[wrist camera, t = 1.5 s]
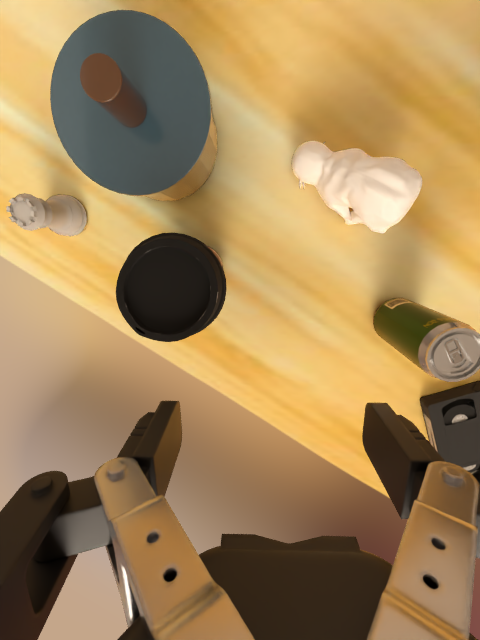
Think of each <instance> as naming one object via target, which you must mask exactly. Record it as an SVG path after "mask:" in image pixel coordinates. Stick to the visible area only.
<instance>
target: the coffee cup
mask: <svg viewBox="0 0 480 640" xmlns="http://www.w3.org/2000/svg"><path fill="white" fill-rule="evenodd" d="M225 296H226V278H225V274H224V271H223V264H222V261H221V259H220V257H219V255H218V254H217V253H216V252H215V251H214V250H213V249H212V248H210V247H209V246H206V245H205V244H204V243H202V242H201V241H199V240H197V239H196V238H193V237H191V236H188V235H185V234H180V233H162V234H158V235H155V236H152V237H150V238H148V239H146V240H144V241H142V242H141V243H140V244H139V245H138V246H136V247H135V248H134V249H133V251H132V252H131V253H130V255H129V256H128V258H127V260H126V261H125V263H124V265H123V267H122V269H121V271H120V273H119V277H118V280H117V286H116V299H117V303H118V307H119V309H120V311H121V313H122V315H123V317H124V318H125V320H126V321H127V323H128V324H129V325H130V326H131V327H132V329H133V330H134V331H135V332H136V333H137V334H139V335H141V336H143V337H146V338H149V339H153V340H157V341H164V342H172V341H178V340H182V339H185V338H187V337H189V336H191V335H194V334H196V333H198V332H200V331H202V330H203V329H204V328H206V327H207V326H208V325H210V324H211V323H212V322H213V321H214V319H215V318H216V317H217V316H218V314H219V312H220V311H221V309H222V307H223V304H224V301H225Z"/></svg>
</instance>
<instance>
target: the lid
mask: <svg viewBox="0 0 480 640" xmlns="http://www.w3.org/2000/svg"><path fill="white" fill-rule="evenodd" d="M50 100H51V109H52V115H53V120H54V124H55V127H56V130H57V133H58V136H59V138H60V140H61V142H62V145H63V146H64V148H65V150H66V152H67V153H68V155H69V156H70V158H71V159H72V160H73V162H74V163H75V164H76V165H77V166H78V168H79V169H80V170H81V171H82V172H83V173H84V174H86V175H87V176H88V177H89V178H90V179H92V180H93V181H95V182H96V183H98V184H99V185H101V186H103V187H105V188H107V189H109V190H112V191H115V192H118V193H121V194H125V195H131V196H146V195H153V194H157V193H160V192H163V191H165V190H168V189H170V188H172V187H173V186H175V185H177V184H178V183H179V182H181V181H182V180H183V179H184V178H185V177H186V176H187V175H188V174H189V173H190V172H191V171H192V170H193V168H194V167H195V166H196V164H197V163H198V161H199V159H200V158H201V156H202V154H203V152H204V149H205V147H206V144H207V141H208V137H209V133H210V127H211V112H212V108H211V97H210V92H209V87H208V83H207V80H206V77H205V74H204V71H203V69H202V66H201V64H200V62H199V60H198V58H197V56H196V55H195V53H194V52H193V50H192V48H191V47H190V46H189V45H188V43H187V42H186V41H185V40H184V38H183V37H182V36H181V35H180V34H179V33H178V32H176V31H175V30H174V29H173V28H172V27H170V26H169V25H168V24H166V23H165V22H163V21H161V20H159V19H157V18H156V17H154V16H151V15H148V14H145V13H142V12H137V11H132V10H117V11H110V12H106V13H103V14H99V15H97V16H95V17H93V18H91V19H89V20H88V21H86V22H85V23H84V24H82V25H81V26H80V27H78V28H77V29H76V30H75V31H74V32H73V33H72V34H71V36H70V37H69V38H68V40H67V41H66V42H65V44H64V46H63V48H62V49H61V51H60V53H59V55H58V58H57V60H56V63H55V66H54V70H53V74H52V81H51V99H50Z"/></svg>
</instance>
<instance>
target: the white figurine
mask: <svg viewBox="0 0 480 640" xmlns="http://www.w3.org/2000/svg"><path fill="white" fill-rule="evenodd" d="M324 143H325V142H324ZM324 143H320V142H317V141H307V142H305V143H303V144H301V145H300V146H299V147H298V148H297V149H296V150H295V152H294V154H293V157H292V170H293V172H294V174H295V175H296V177H297V178H298V179H299V188H300V186H301V184H302V185H303V189H304V185H305V184H306V183H309V184H312V185H314V186H315V187H316V189H317V191H318V193H319V195H320V196H321V198H322V199H323V201H324V202H325V204H326V205H327V206H328V207H329V208H331V209H333V210H334V211H336V212H337V213H338V214H339V215H340V216H341V217H343V218H344V219H345V223H346V224H349V225H351V224H357V223H363V224H365V225H366V226H368V228H369V229H370V230H371V231H373V232H379V233H385V232H386V230H387V229H388V228H389V227H391V226H393V225H395V224H397V223H398V222H400V220H401V219H402V218H403V217H404V216H405V214H406V213H407V212H408V211H409V209H410V208H411V206H412V204H413V203H414V201H415V199H416V198H417V197H418V195H419V192H420V190H421V187H422V177H421V175H420V173H419V172H418V171H417V170H416V169H414V168H412V167H410V166H409V165H408V164H407V163H406V162H405V161H404V160H402V159H399V158H396V157H371V156H369V155H368V154H366V153H365V152H364V151H363V150H361V149H358V148H350V149H346V150H342V151H337V152H333V151H331V150H330V149H329V148H328V147H327V146H325V144H324ZM304 182H305V184H304ZM349 207H351V208H352V209H353V211H351V212H350V210H349Z"/></svg>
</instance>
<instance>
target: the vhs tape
mask: <svg viewBox="0 0 480 640" xmlns="http://www.w3.org/2000/svg"><path fill="white" fill-rule="evenodd" d="M420 403H421V407H422V412H423V416H424V420H425V424H426V429H427V433H428V437H429V441H430V444H431V445H432V446H433V447H434V449H435V450H436V451H437V452H438V453H439V454H440V456H441V457H442V458H443V459H444V460H445V462H449V463H452V464H455V465H458V466H460V467H462V468H464V469H465V470H467V471H468V472H470V473H471V474H472V475H473V476H474V477H475V478H476V480H477V481H478V483H479V484H480V381H477V382H473V383H470V384H466V385H463V386H460V387H456V388H453V389H449V390H446V391H442V392H439V393H436V394H433V395H428V396H425V397H422V398H421V399H420Z"/></svg>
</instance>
